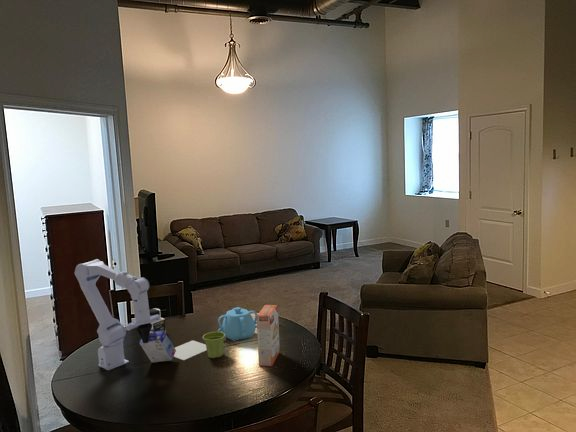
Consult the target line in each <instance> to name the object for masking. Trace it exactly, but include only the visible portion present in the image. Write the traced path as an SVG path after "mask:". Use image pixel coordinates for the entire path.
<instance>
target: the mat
mask: <svg viewBox="0 0 576 432" xmlns="http://www.w3.org/2000/svg"><path fill="white" fill-rule="evenodd" d="M174 348H175V350H176V352H175V355H174V357H173V358H176V359H178V360H180V361H187V360H189V359H190V358H194V357H196V356H197V355H198V356H199V355H200V354H202V353H204V352H207V349H206V344H205V343H202V342H199V341H196V340H194V339H193V340H192V339H191V340H190V341H188V342H185V343H183V344H180V345H178V346H175V347H174Z"/></svg>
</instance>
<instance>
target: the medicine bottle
mask: <svg viewBox="0 0 576 432" xmlns="http://www.w3.org/2000/svg"><path fill="white" fill-rule="evenodd" d="M149 312H150V316H154V315H160V320H156V321H153V322H151V323H150V324H152V328H151V329H154V330H155V332H157V331H165V333H166V334H167V328H166V326H167V325H166V318H163V317H161V315H162V314H161V309H160V308H156V307H155V308H151V309H150V308H149ZM151 332H152V331H150V333H151Z"/></svg>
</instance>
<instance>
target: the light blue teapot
mask: <svg viewBox="0 0 576 432" xmlns="http://www.w3.org/2000/svg"><path fill="white" fill-rule="evenodd" d="M252 314H255V315H254V318H253V316H252ZM257 315H258V312H257V311H255V310H252V309H251V310H248V309H247V308H246V309H245V308H242V307H239V306H237V307H234V308H232V309H231V310H230V309H229V310H228V311H226V313H225V314H222V315H221V316H219V317H218V318H217V319H218V320H217V322H218V325H219V328H218V330H217V332H223V333H225V337H226V338H227V339H228V340H231V341H232V342H236V341H238V340H243V339H250V338H252V337H253V336H254V334H255V332H256V329H257ZM222 319H223V321H222V322H221V320H222Z"/></svg>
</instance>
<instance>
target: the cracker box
mask: <svg viewBox="0 0 576 432" xmlns="http://www.w3.org/2000/svg"><path fill="white" fill-rule="evenodd" d="M257 314H258V315H257V321H256V322H257V324H256V325H257V328H256V330H257V331H256V332H257V334H256V335H257V352H258V353H257V355H258V366H259V367H273V366H274V364H275V361H276V359H277V358H278V356H279V354H280V330H279V329H280V327H279V306H278V305H276V304H265V305H264V306H263V307H262V309H260V310H259V312H257Z"/></svg>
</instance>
